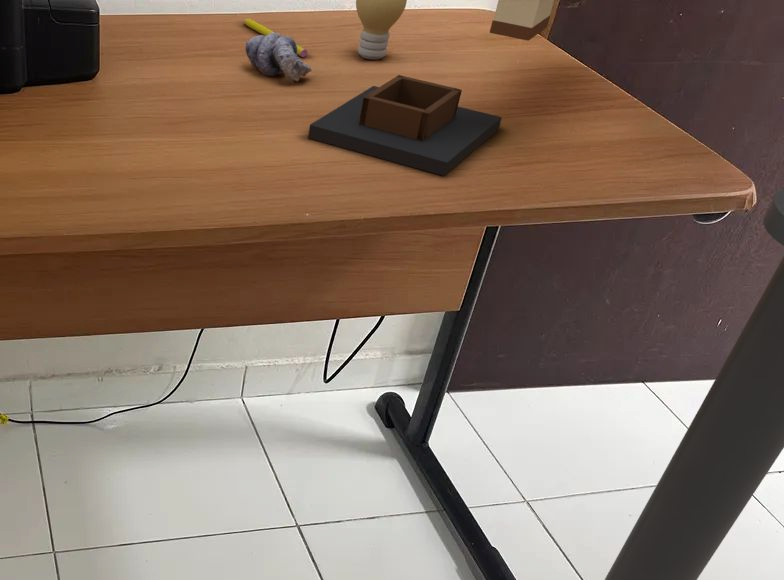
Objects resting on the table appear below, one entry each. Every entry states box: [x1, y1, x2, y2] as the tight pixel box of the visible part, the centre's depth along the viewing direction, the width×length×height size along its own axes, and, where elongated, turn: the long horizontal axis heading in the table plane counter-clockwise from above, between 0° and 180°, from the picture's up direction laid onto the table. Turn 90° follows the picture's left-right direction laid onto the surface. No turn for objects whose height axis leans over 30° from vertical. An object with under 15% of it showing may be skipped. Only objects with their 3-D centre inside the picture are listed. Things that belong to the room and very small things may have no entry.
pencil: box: [243, 18, 308, 58], centre depth 125 cm, size 16×1×1 cm, turn 25°
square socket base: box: [307, 74, 503, 177], centre depth 100 cm, size 16×16×4 cm
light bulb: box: [355, 0, 407, 60], centre depth 118 cm, size 6×6×10 cm
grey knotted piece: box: [245, 31, 313, 82], centre depth 113 cm, size 5×5×10 cm
